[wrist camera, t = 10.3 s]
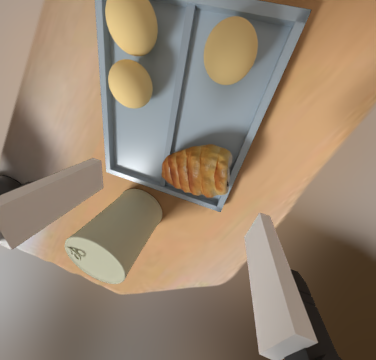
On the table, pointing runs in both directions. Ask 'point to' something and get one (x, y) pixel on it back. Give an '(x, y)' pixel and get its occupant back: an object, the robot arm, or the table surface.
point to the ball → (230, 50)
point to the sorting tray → (193, 89)
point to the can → (115, 236)
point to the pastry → (199, 170)
